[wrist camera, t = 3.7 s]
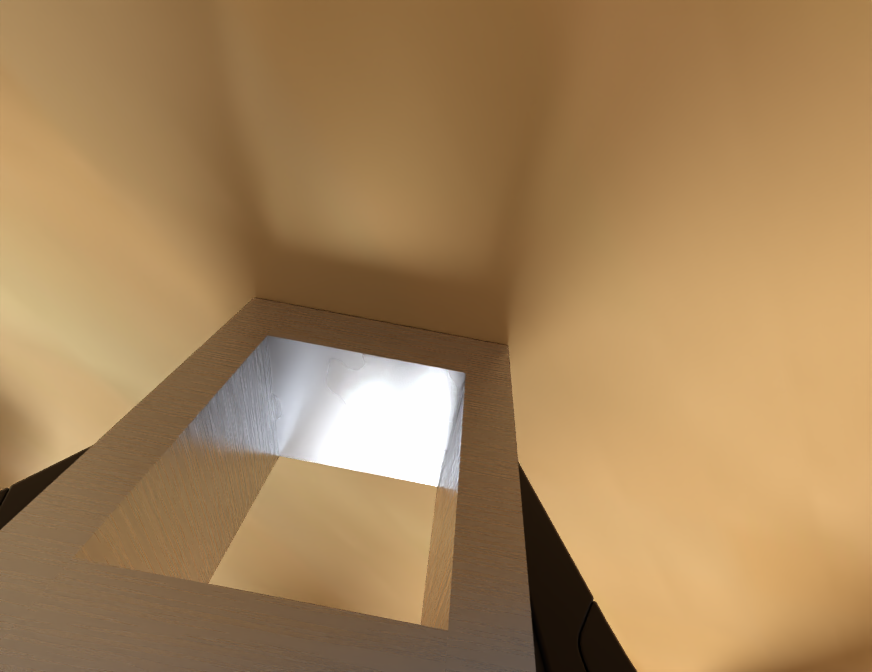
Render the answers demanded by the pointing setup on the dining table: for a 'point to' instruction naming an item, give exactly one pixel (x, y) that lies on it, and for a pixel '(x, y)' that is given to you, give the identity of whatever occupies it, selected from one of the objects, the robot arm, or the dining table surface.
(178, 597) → the hollow rectangular metal block
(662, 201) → the dining table surface
